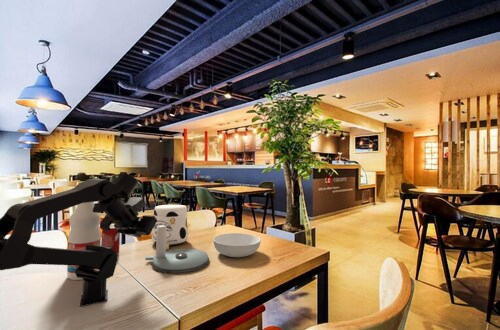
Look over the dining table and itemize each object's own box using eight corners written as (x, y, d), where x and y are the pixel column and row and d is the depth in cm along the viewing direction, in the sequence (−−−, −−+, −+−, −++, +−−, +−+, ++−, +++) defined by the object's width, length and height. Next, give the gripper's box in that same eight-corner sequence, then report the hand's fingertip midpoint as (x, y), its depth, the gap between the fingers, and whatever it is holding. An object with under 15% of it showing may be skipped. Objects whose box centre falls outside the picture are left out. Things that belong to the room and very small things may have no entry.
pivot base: (217, 267, 97) (217, 254, 97) (156, 278, 86) (156, 263, 86) (198, 249, 118) (198, 238, 118) (147, 256, 107) (147, 244, 107)
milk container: (149, 249, 115) (150, 210, 116) (152, 239, 132) (153, 204, 132) (189, 247, 120) (189, 209, 120) (187, 237, 137) (188, 204, 137)
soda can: (111, 258, 103) (112, 229, 104) (97, 257, 105) (97, 227, 105) (122, 253, 110) (123, 225, 110) (109, 251, 111) (110, 224, 112)
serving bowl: (268, 259, 107) (268, 243, 107) (219, 265, 99) (220, 247, 99) (250, 245, 126) (250, 231, 126) (208, 249, 118) (208, 234, 119)
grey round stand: (215, 264, 97) (216, 230, 97) (151, 275, 86) (152, 236, 86) (198, 248, 115) (199, 219, 116) (144, 255, 104) (145, 224, 104)
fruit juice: (105, 272, 90) (108, 193, 90) (78, 283, 82) (81, 195, 82) (88, 267, 94) (90, 191, 94) (60, 277, 85) (63, 193, 86)
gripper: (154, 191, 82) (173, 219, 92) (107, 188, 87) (130, 215, 98) (136, 220, 74) (159, 247, 85) (86, 215, 79) (113, 241, 90)
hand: (140, 236), depth 89 cm, fingers closed
